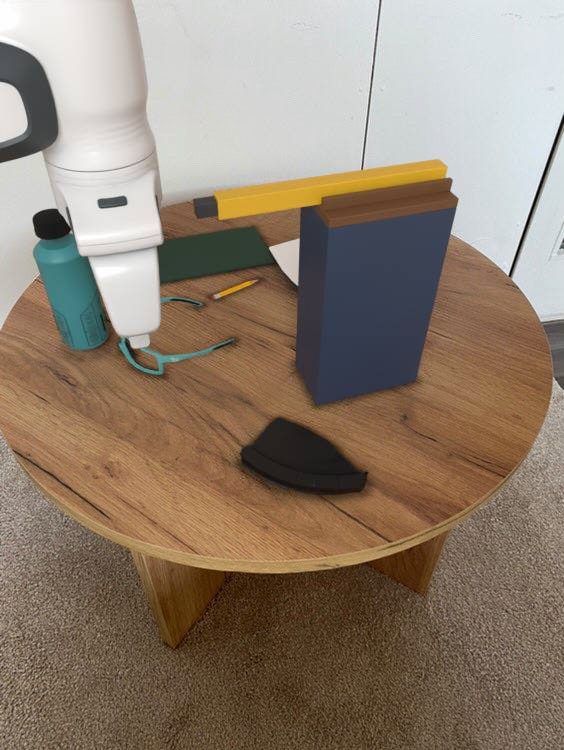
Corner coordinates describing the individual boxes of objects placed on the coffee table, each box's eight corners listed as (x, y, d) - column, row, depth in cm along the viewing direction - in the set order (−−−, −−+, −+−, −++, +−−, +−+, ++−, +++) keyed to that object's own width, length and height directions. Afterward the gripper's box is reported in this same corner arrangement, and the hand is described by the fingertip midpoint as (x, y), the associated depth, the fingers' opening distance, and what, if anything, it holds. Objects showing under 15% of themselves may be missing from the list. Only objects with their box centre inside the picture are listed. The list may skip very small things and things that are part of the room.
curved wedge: (338, 524, 61) (339, 515, 60) (236, 464, 67) (236, 455, 65) (376, 471, 66) (378, 462, 65) (278, 419, 72) (278, 410, 70)
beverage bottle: (116, 353, 80) (82, 222, 66) (66, 365, 78) (21, 233, 64) (108, 324, 84) (75, 196, 70) (61, 335, 83) (17, 206, 69)
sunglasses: (102, 331, 83) (98, 302, 80) (196, 305, 90) (196, 278, 87) (142, 390, 75) (139, 360, 71) (242, 357, 82) (244, 328, 78)
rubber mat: (114, 291, 90) (114, 289, 90) (106, 251, 98) (105, 249, 98) (274, 263, 96) (274, 261, 96) (253, 227, 104) (253, 225, 104)
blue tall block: (316, 406, 73) (330, 208, 54) (295, 364, 79) (301, 171, 60) (415, 381, 76) (461, 187, 57) (389, 343, 82) (423, 154, 63)
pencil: (211, 298, 90) (211, 295, 89) (257, 280, 93) (257, 276, 93) (214, 301, 89) (213, 297, 89) (260, 282, 93) (260, 279, 92)
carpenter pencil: (198, 223, 54) (196, 204, 53) (193, 213, 56) (191, 194, 54) (444, 185, 60) (448, 166, 59) (434, 176, 62) (438, 158, 60)
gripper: (61, 138, 55) (91, 263, 65) (76, 250, 41) (112, 388, 51) (128, 131, 56) (148, 254, 66) (166, 237, 43) (184, 373, 52)
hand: (133, 313), depth 58 cm, fingers open, 8 cm apart
